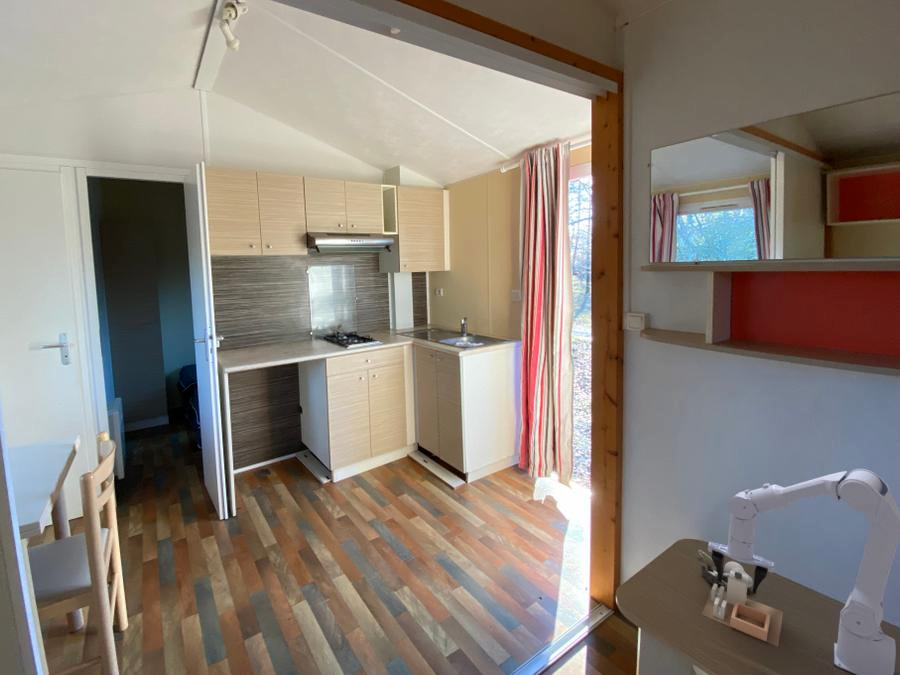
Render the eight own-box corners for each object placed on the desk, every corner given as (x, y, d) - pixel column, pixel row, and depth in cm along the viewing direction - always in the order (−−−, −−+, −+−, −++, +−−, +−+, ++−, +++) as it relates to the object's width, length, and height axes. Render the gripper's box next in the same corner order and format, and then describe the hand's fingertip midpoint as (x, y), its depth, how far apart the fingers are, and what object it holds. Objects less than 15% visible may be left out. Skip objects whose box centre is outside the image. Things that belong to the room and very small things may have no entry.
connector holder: (769, 623, 112) (770, 614, 112) (766, 641, 107) (767, 631, 106) (734, 610, 117) (735, 601, 117) (730, 626, 111) (730, 617, 111)
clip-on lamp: (690, 567, 142) (713, 592, 124) (687, 546, 142) (710, 568, 125) (730, 567, 140) (759, 593, 122) (727, 546, 140) (756, 568, 123)
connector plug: (746, 600, 121) (748, 573, 120) (743, 609, 117) (746, 580, 117) (728, 594, 123) (730, 567, 122) (726, 602, 120) (728, 574, 119)
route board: (783, 615, 117) (783, 611, 117) (777, 650, 105) (778, 646, 105) (712, 588, 127) (713, 585, 127) (701, 618, 116) (701, 614, 115)
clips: (729, 601, 120) (730, 589, 120) (723, 620, 114) (724, 607, 113) (713, 594, 123) (714, 583, 122) (706, 612, 116) (707, 600, 116)
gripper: (776, 541, 117) (771, 589, 118) (713, 522, 126) (709, 567, 127) (774, 553, 111) (769, 604, 113) (707, 532, 121) (704, 579, 122)
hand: (737, 585), depth 120 cm, fingers open, 7 cm apart
